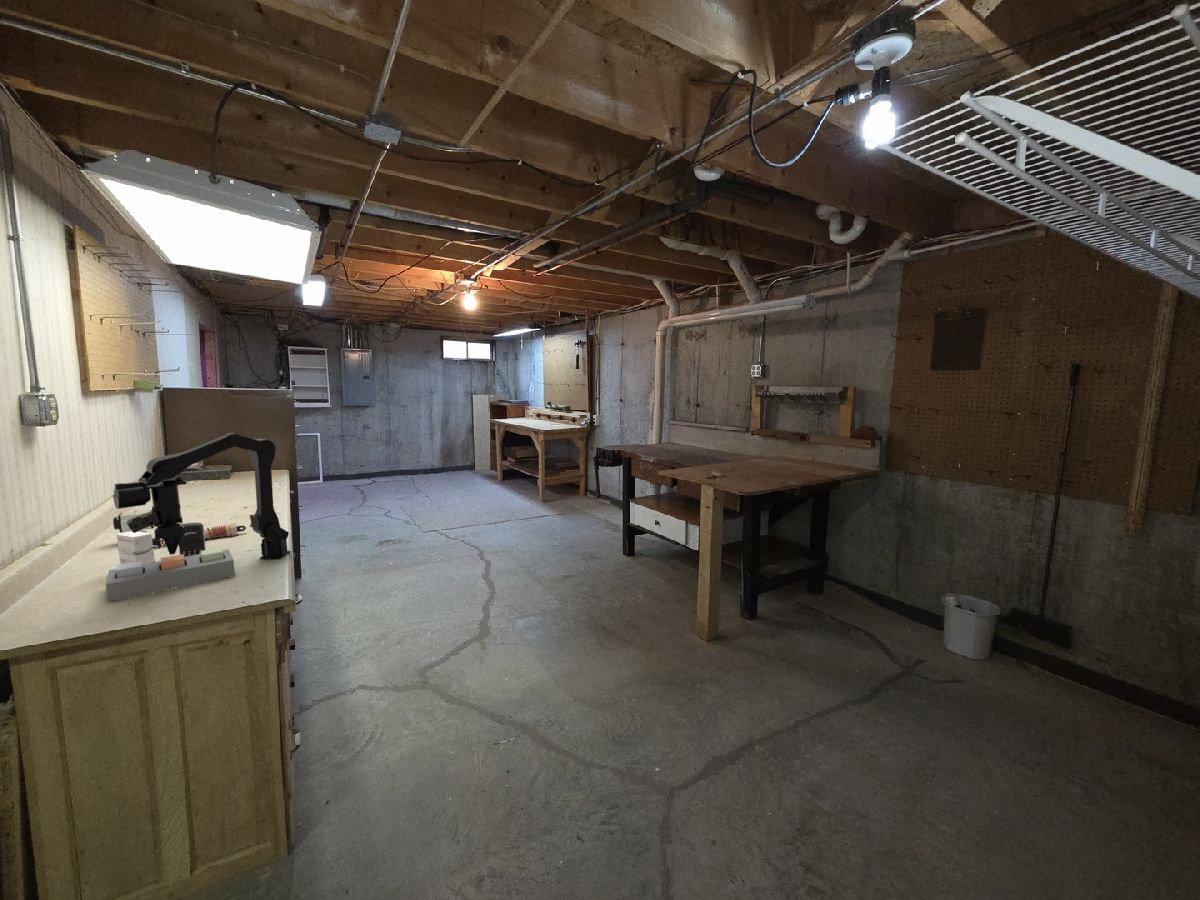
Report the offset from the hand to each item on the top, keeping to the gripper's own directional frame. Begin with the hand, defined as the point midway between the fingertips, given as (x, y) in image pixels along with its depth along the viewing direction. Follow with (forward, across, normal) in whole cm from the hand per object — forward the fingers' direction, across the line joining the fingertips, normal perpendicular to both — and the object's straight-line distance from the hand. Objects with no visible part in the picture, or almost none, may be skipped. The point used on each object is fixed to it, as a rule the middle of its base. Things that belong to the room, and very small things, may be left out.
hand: (172, 554), depth 140 cm
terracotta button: (+5, 0, 0) cm, 5 cm away
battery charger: (+8, -23, +5) cm, 25 cm away
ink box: (+8, -18, -8) cm, 22 cm away
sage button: (+5, 0, +9) cm, 10 cm away
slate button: (+5, 0, -9) cm, 10 cm away
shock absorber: (+9, -43, +7) cm, 45 cm away
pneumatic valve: (+8, -55, -8) cm, 57 cm away
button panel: (+8, 0, 0) cm, 8 cm away
